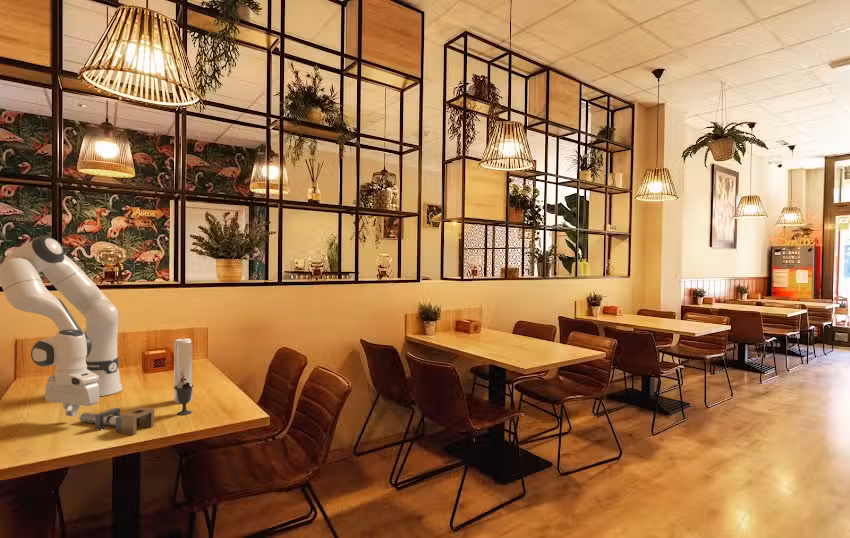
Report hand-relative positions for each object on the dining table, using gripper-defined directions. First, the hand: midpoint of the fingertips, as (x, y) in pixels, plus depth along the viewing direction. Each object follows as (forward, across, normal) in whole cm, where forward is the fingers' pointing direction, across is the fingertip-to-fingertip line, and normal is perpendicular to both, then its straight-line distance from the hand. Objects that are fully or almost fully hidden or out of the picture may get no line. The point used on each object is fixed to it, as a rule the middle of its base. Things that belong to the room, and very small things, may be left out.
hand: (71, 415), depth 162 cm
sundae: (+2, +31, +18) cm, 36 cm away
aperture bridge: (+2, +28, 0) cm, 28 cm away
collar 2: (+2, +24, 0) cm, 24 cm away
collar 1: (+2, +16, 0) cm, 16 cm away
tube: (+2, +13, 0) cm, 13 cm away
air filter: (+2, +20, +30) cm, 36 cm away
